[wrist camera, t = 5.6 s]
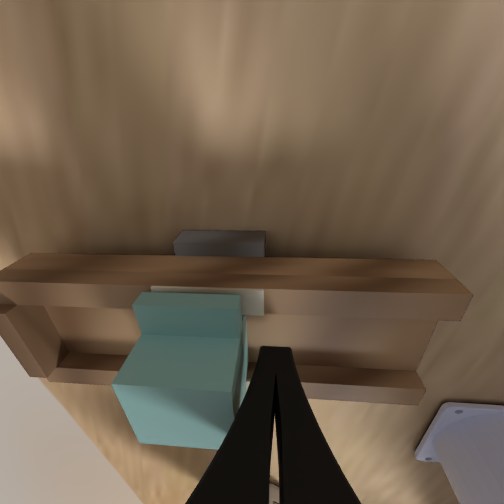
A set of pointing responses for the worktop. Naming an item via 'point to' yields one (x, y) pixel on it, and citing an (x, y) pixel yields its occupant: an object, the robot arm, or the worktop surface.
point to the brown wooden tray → (252, 305)
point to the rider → (185, 369)
